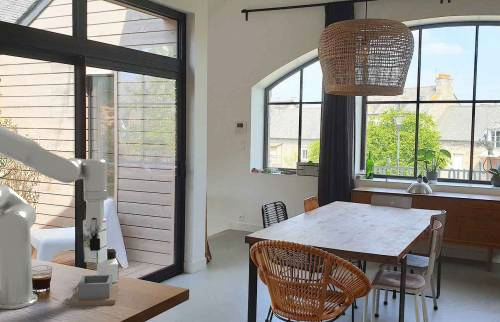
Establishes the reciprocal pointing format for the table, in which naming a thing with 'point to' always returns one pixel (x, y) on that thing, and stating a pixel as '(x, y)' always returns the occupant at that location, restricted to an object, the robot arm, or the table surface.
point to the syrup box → (102, 253)
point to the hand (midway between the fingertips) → (96, 247)
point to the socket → (95, 291)
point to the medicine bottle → (109, 265)
